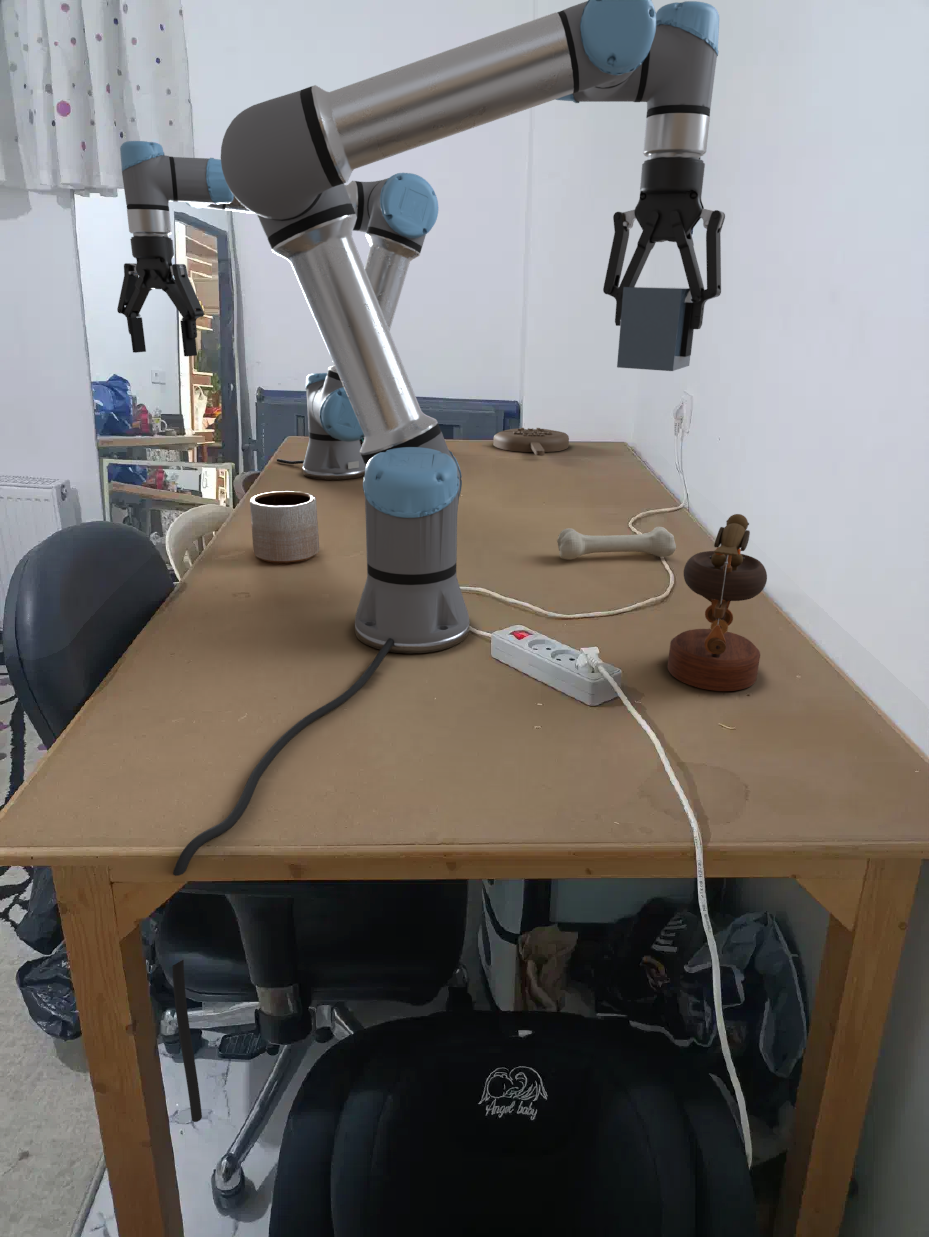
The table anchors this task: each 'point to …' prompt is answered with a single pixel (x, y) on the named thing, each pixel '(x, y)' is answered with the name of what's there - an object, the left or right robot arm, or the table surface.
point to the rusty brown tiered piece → (720, 614)
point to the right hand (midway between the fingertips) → (654, 353)
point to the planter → (284, 526)
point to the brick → (652, 328)
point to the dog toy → (615, 543)
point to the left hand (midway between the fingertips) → (164, 354)
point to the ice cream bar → (531, 440)
